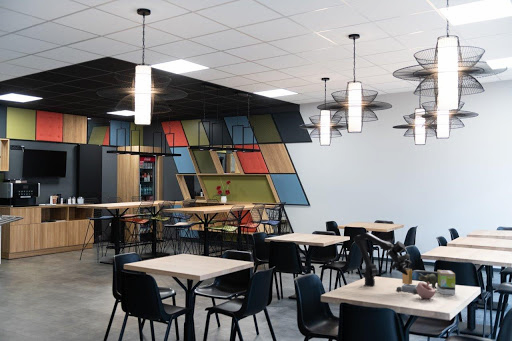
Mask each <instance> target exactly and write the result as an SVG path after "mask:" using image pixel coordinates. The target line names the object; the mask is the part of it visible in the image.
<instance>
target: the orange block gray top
mask: <svg viewBox="0 0 512 341" xmlns="http://www.w3.org/2000/svg"><path fill="white" fill-rule="evenodd" d="M409 268H410V267H409ZM409 268H404V269H405V271H406V272H407V274H408V275H405V274H403V273H401V274H402V280H401V281H402V282H401V283H402V285H404V284H411V285H413V269H412V268H410V269H409Z"/></svg>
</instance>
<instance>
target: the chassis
mask: <svg viewBox="0 0 512 341" xmlns="http://www.w3.org/2000/svg"><path fill="white" fill-rule="evenodd" d="M417 285H418V284H402V285H401V286H396V291H397V292H405V293H412V294H418V293H417Z"/></svg>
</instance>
